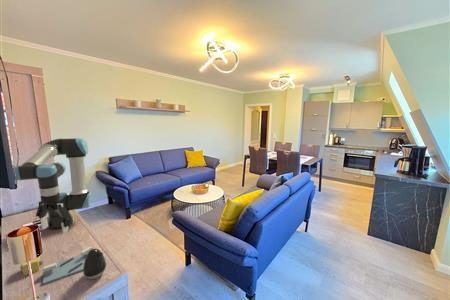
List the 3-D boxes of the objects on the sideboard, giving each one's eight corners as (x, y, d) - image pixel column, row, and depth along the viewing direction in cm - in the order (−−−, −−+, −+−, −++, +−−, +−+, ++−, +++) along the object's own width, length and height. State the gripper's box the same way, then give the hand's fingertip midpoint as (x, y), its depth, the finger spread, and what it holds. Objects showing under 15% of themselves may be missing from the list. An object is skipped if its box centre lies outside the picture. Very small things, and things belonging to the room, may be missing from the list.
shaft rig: (46, 267, 107) (45, 259, 106) (94, 251, 119) (93, 244, 118) (42, 285, 96) (41, 276, 95) (95, 266, 109) (94, 258, 108)
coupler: (23, 268, 105) (21, 259, 104) (44, 262, 110) (42, 253, 109) (20, 276, 100) (18, 266, 99) (42, 269, 105) (40, 260, 104)
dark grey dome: (96, 284, 98) (93, 258, 95) (79, 280, 100) (75, 255, 96) (111, 268, 108) (109, 245, 105) (95, 265, 109) (92, 242, 106)
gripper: (22, 193, 100) (29, 230, 104) (62, 200, 95) (67, 237, 100) (38, 188, 107) (44, 222, 111) (76, 193, 103) (80, 229, 107)
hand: (55, 229), depth 106 cm, fingers open, 13 cm apart
